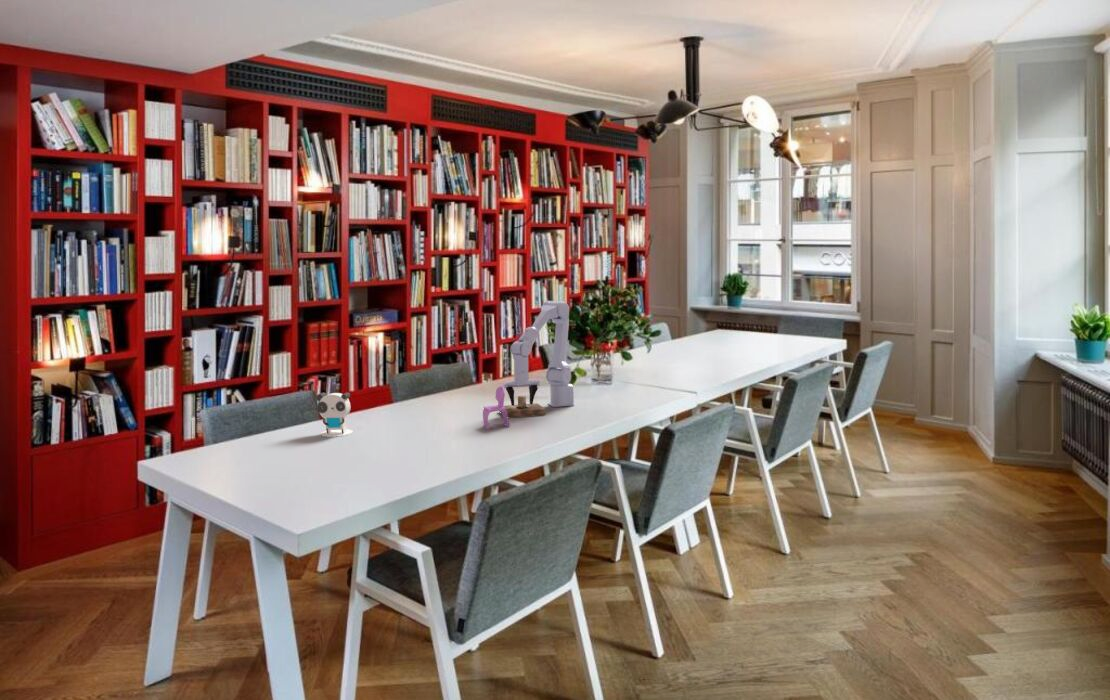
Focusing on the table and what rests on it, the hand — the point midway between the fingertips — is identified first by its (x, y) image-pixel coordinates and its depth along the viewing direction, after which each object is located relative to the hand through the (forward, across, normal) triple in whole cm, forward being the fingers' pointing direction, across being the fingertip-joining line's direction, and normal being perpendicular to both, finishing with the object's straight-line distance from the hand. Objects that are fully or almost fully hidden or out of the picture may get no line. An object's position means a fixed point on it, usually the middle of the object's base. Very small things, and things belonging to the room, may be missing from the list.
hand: (522, 404), depth 328 cm
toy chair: (+4, +15, +19) cm, 25 cm away
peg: (+4, 0, 0) cm, 4 cm away
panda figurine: (+4, +73, +9) cm, 74 cm away
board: (+4, 0, 0) cm, 4 cm away
